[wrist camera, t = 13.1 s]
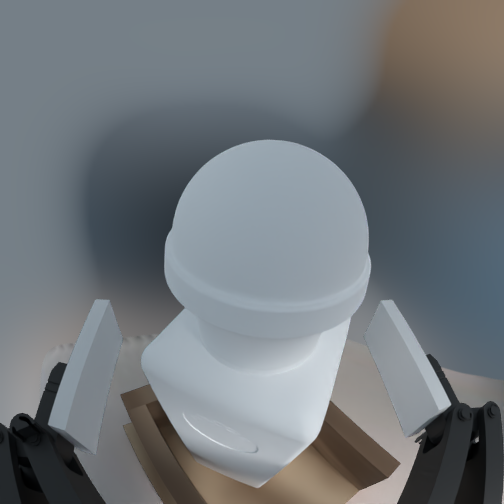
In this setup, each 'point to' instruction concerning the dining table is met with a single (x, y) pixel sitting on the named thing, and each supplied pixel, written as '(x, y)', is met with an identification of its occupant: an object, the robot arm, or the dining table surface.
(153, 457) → the walnut holder
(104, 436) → the dining table surface
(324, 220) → the white plastic bottle
